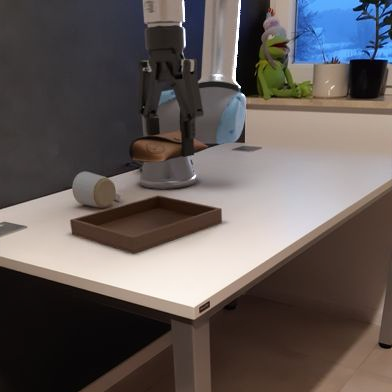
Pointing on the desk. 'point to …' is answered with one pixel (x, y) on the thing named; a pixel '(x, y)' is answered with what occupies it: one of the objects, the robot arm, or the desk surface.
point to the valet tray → (145, 223)
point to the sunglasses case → (160, 147)
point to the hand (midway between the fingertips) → (171, 153)
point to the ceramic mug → (94, 190)
